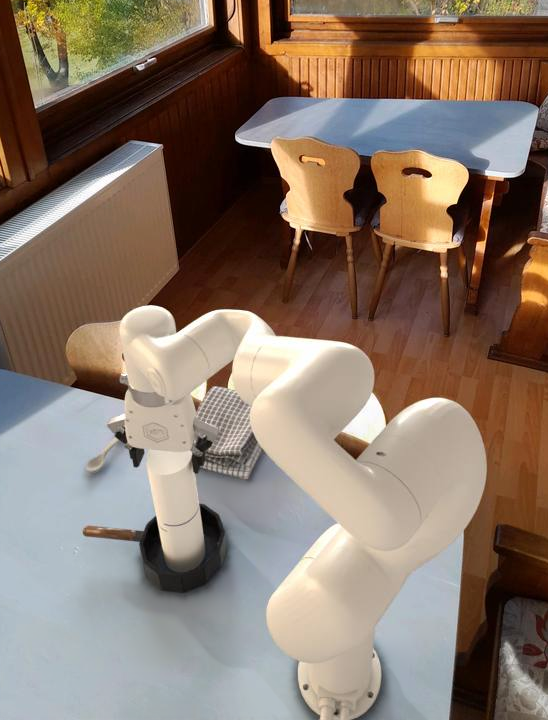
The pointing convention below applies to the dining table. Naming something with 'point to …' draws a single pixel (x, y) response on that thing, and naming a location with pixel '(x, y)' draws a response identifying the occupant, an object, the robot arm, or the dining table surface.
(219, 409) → the towel
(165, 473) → the cylindrical container
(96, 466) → the spoon
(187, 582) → the pan
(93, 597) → the dining table surface
